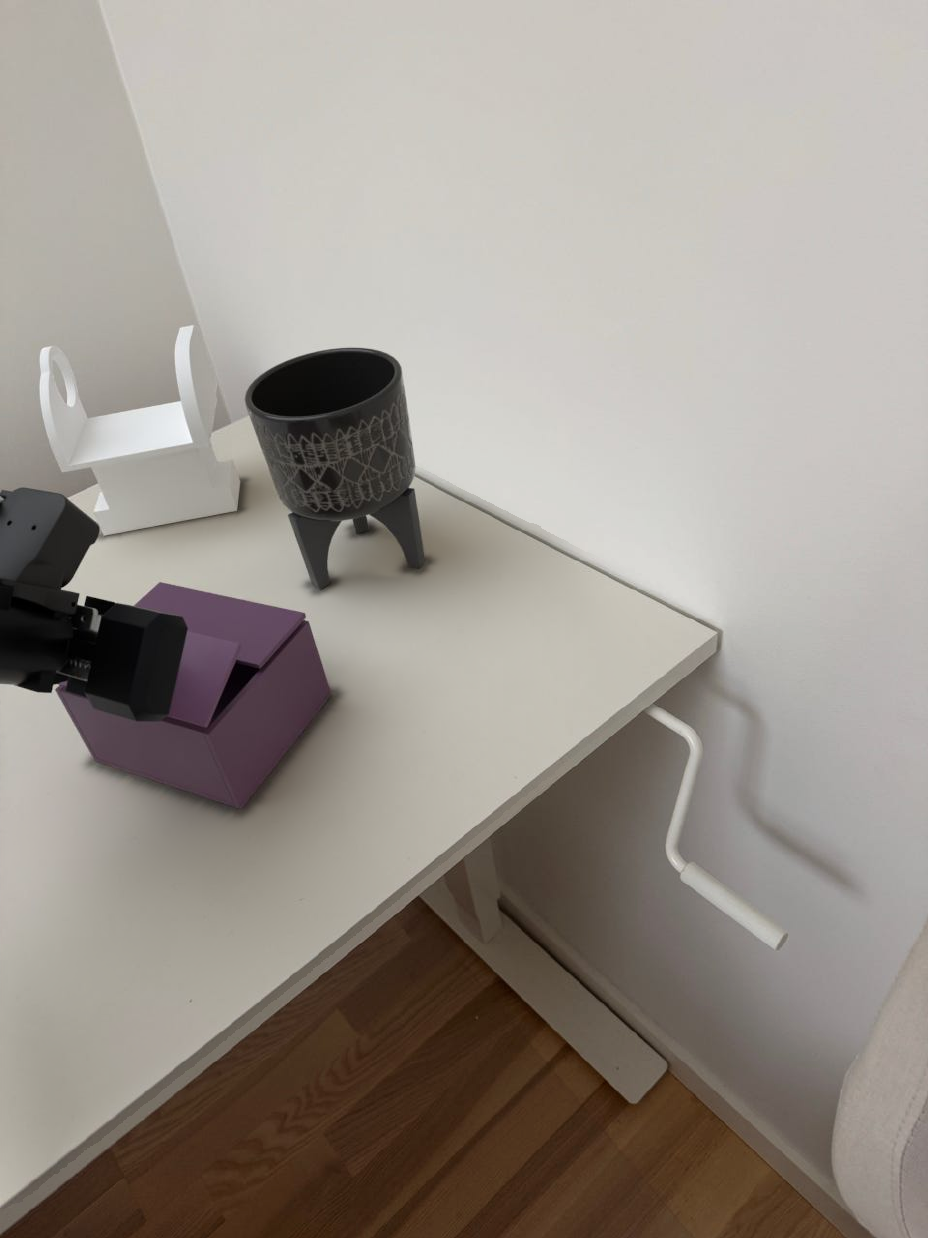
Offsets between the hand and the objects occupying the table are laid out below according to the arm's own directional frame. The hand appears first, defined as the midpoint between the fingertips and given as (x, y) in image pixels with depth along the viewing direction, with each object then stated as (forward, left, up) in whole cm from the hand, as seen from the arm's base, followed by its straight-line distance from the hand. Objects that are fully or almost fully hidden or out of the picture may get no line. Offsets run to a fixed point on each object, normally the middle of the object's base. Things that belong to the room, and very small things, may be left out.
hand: (146, 649), depth 65 cm
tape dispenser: (+12, +36, -10) cm, 40 cm away
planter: (+22, +12, -10) cm, 27 cm away
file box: (+2, +1, -10) cm, 11 cm away
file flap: (-1, 0, -1) cm, 1 cm away
